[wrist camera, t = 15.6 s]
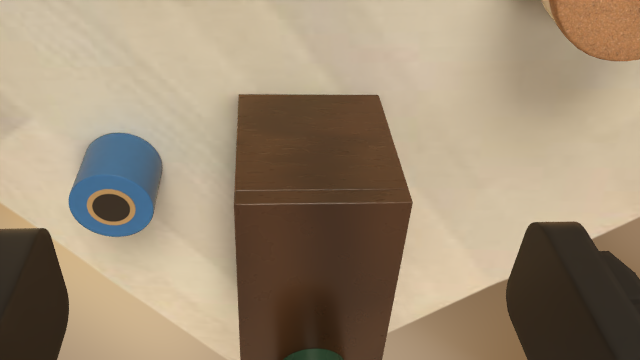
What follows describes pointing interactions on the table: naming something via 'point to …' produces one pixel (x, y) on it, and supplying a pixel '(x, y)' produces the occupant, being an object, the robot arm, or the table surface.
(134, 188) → the tape roll
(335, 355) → the tea tin
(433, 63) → the table surface
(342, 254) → the shelf
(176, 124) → the table surface
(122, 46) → the table surface
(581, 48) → the trinket box
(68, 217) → the table surface
